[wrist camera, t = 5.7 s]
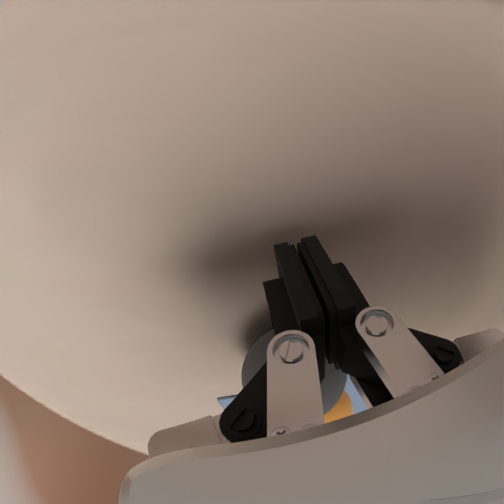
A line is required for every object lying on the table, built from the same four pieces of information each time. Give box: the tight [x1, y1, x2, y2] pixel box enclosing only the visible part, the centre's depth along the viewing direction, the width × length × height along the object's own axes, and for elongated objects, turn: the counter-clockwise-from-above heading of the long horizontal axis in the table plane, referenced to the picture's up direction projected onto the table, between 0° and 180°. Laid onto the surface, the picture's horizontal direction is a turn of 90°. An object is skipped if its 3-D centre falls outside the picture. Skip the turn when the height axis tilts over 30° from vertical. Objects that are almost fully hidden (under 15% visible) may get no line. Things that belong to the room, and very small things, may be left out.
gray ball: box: [242, 329, 347, 415], centre depth 13 cm, size 6×6×6 cm
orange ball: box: [324, 390, 353, 423], centre depth 17 cm, size 6×6×6 cm
